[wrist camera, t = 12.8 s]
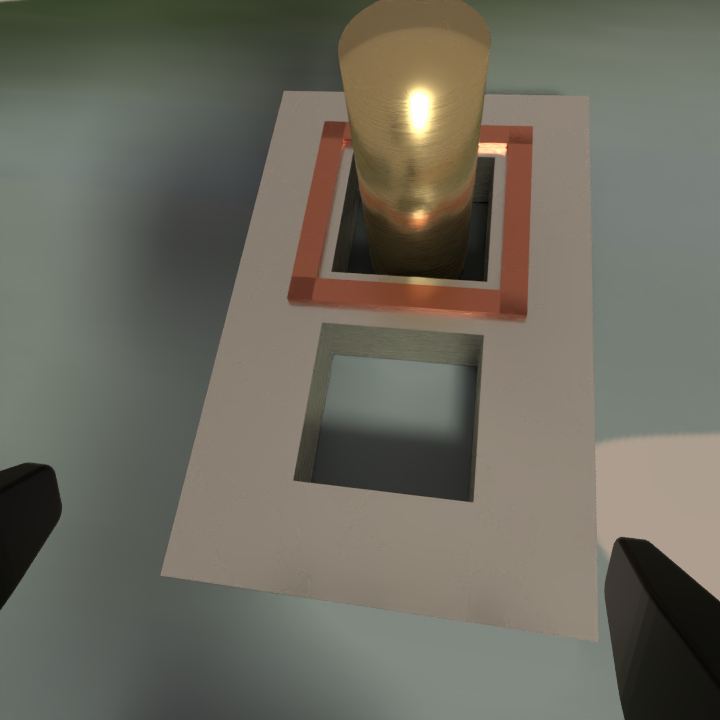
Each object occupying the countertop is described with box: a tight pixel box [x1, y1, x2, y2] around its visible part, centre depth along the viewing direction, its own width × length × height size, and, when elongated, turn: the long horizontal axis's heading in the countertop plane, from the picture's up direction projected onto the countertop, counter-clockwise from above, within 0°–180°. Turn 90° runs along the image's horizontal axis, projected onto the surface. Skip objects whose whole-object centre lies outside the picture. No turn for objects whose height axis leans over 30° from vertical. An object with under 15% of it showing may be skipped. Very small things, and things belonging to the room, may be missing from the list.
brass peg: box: [338, 0, 491, 280], centre depth 22 cm, size 4×4×11 cm
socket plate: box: [160, 91, 599, 642], centre depth 24 cm, size 22×14×3 cm, turn 172°
